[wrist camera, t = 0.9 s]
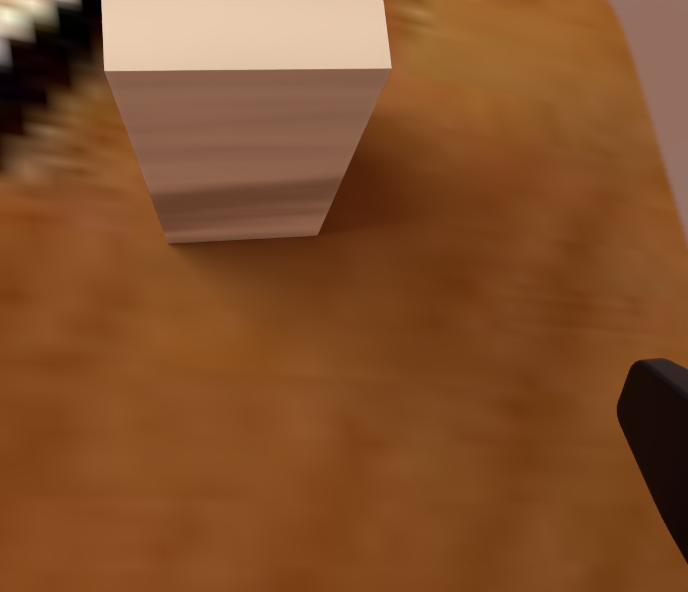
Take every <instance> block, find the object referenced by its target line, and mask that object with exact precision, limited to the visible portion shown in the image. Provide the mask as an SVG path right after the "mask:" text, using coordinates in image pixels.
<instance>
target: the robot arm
mask: <svg viewBox="0 0 688 592" xmlns="http://www.w3.org/2000/svg"><path fill="white" fill-rule="evenodd" d="M617 417H618V421H619V424H620V426H621V428H622V430H623V433H624V435H625V437H626V439H627V442H628V444H629V446H630V448H631V451H632V453H633V455H634V457H635V460H636V462H637V464H638V466H639V469H640V471H641V473H642V475H643V478H644V480H645V482H646V484H647V487H648V489H649V491H650V493H651V496H652V498H653V500H654V502H655V504H656V506H657V509H658V511H659V513H660V515H661V517H662V519H663V521H664V523H665V525H666V526H667V528H668V530H669V532H670V534H671V536H672V537H673V539H674V541H675V543H676V544H677V546H678V548H679V550H680V551H681V553H682V555H683V557H684V558H685V560H686V562H687V564H688V369H686V368H684V367H682V366H680V365H678V364H676V363H674V362H672V361H670V360H667V359H663V358H657V359H646V360H639V361H636V362H635V363H634V364H633V365H632V366H631V368H630V370H629V373H628V375H627V378H626V381H625V384H624V387H623V389H622V392H621V395H620V398H619V400H618V404H617Z"/></svg>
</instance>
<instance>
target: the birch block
mask: <svg viewBox="0 0 688 592" xmlns="http://www.w3.org/2000/svg"><path fill="white" fill-rule="evenodd" d="M102 23H103V47H104V71H105V74H106V76H107V79H108V82H109V85H110V87H111V90H112V93H113V95H114V98H115V101H116V104H117V106H118V109H119V112H120V115H121V117H122V120H123V123H124V125H125V128H126V131H127V134H128V136H129V139H130V142H131V144H132V147H133V150H134V153H135V155H136V158H137V161H138V163H139V166H140V169H141V172H142V174H143V177H144V180H145V182H146V185H147V188H148V191H149V193H150V196H151V199H152V201H153V204H154V207H155V210H156V212H157V215H158V218H159V220H160V223H161V226H162V229H163V231H164V234H165V237H166V239H167V242H168V244H174V243H192V242H210V241H228V240H246V239H265V238H283V237H301V236H317V235H318V233H319V231H320V229H321V226H322V224H323V222H324V220H325V217H326V215H327V213H328V211H329V208H330V206H331V204H332V202H333V199H334V197H335V195H336V193H337V190H338V188H339V186H340V184H341V181H342V179H343V177H344V175H345V172H346V170H347V168H348V166H349V163H350V161H351V159H352V157H353V154H354V152H355V150H356V148H357V145H358V143H359V141H360V139H361V136H362V134H363V132H364V130H365V127H366V125H367V123H368V121H369V118H370V116H371V114H372V112H373V109H374V107H375V105H376V102H377V100H378V98H379V96H380V93H381V91H382V89H383V87H384V84H385V82H386V80H387V78H388V75H389V73H390V71H391V69H392V67H391V59H390V51H389V43H388V35H387V27H386V19H385V11H384V3H383V0H102Z"/></svg>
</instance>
